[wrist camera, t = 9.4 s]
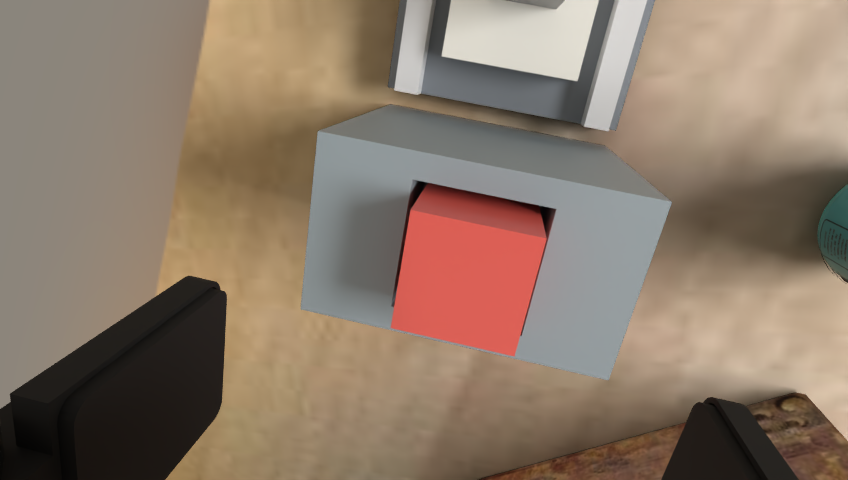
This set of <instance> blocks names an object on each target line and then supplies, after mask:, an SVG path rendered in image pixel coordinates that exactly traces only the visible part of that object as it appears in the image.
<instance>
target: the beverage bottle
mask: <svg viewBox="0 0 848 480" xmlns="http://www.w3.org/2000/svg"><path fill="white" fill-rule="evenodd" d="M817 236H818V244H819V248H820V251H821V255H823V256H822V257H824V258H823V260H824V259H825V260H826V262H827V263H828V265H829V266H830V267H831V269H832V270H834V271H833V272H834V273H835V272H836V273H837V274H838V275H840V276H841V278H842V279H843V280H844V281H845V282H847V283H848V184H847V185H846V186H844V187H843V188H842V189H841V190H840V191H839V192H838V193H837V194H836V195H835V196H834V197H833V198H832V199H831V200H830V202H829V203H828V205H827V206H826V207H825V209H824V211H823V213H822V216H821V218H820V221H819V226H818V234H817ZM824 262H825V261H824ZM825 264H826V263H825ZM826 266H827V265H826ZM827 267H828V266H827ZM828 269H829V268H828ZM829 270H830V269H829ZM836 273H835V274H836ZM832 274H833V273H832ZM837 274H836V275H837ZM838 275H837V276H838ZM838 278H839V277H838ZM839 279H840V278H839ZM844 281H843V282H844ZM845 282H844V283H845ZM847 283H846V284H847Z"/></svg>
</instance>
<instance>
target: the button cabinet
mask: <svg viewBox="0 0 848 480" xmlns="http://www.w3.org/2000/svg"><path fill="white" fill-rule="evenodd" d="M428 183H432V184H437V185H442V186H447V187H452V188H457V189H462V190H466V191H471V192H476V193H481V194H486V195H491V196H496V197H501V198H505V199H510V200H515V201H520V202H525V203H530V204H535V205H539V208H540V212H541V216H542V220H543V225H544V229H545V233H546V237H547V240H546V243H545V247H544V251H543V254H542V258H541V262H540V265H539V269H538V272H537V276H536V280H535V283H534V287H533V291H532V294H531V298H530V302H529V305H528V309H527V313H526V316H525V320H524V324H523V327H522V331H521V335H520V338H519V342H518V346H517V349H516V353H515V357H514V356H510V355H505V354H501V353H497V352H492V351H488V350H484V349H479V348H475V347H471V346H466V345H462V344H458V343H453V342H449V341H445V340H440V339H436V338H432V337H427V336H423V335H419V334H414V333H410V332H406V331H401V330H397V329H392V328H391V323H392V317H393V311H394V305H395V299H396V293H397V287H398V281H399V275H400V269H401V263H402V257H403V252H404V246H405V240H406V234H407V228H408V222H409V216H410V210H411V208H412V207H413V205H414V204H415V202H416V201H417V199H418V198H419V196H420V194H421V193H422V191H423V190H424V188H425V187H426V185H427V184H428ZM671 204H672V201H670V200H669V199H668V198H667V197H666V196H664V195H663V194H662V193H661V192H660V191H658V190H657V189H656V188H655V187H654V186H653V185H651V184H650V183H649V182H648V181H647V180H645V179H644V178H643V177H642V176H641V175H639V174H638V173H637V172H636V171H635V170H633V169H632V168H631V167H630V166H629V165H627V164H626V163H625V162H624V161H623V160H621V159H620V158H619V157H618V156H617V155H615V154H614V153H613V152H612V151H611V150H609V149H608V148H607V147H606V146H605V145H599V144H594V143H589V142H584V141H579V140H574V139H568V138H563V137H558V136H553V135H548V134H543V133H537V132H532V131H527V130H522V129H517V128H511V127H506V126H501V125H496V124H491V123H486V122H480V121H475V120H470V119H465V118H460V117H455V116H449V115H444V114H439V113H434V112H429V111H424V110H418V109H413V108H408V107H403V106H398V105H392V104H390V105H387V106H385V107H382V108H379V109H376V110H374V111H371V112H368V113H366V114H363V115H360V116H357V117H355V118H352V119H349V120H346V121H344V122H341V123H338V124H336V125H333V126H330V127H327V128H325V129H322V130H319V131H318V134H317V144H316V155H315V165H314V175H313V186H312V196H311V206H310V217H309V227H308V238H307V248H306V258H305V269H304V279H303V290H302V300H301V309H302V310H306V311H310V312H315V313H319V314H323V315H328V316H332V317H336V318H341V319H345V320H349V321H354V322H358V323H362V324H367V325H371V326H375V327H380V328H384V329H388V330H393V331H397V332H401V333H406V334H410V335H414V336H419V337H423V338H427V339H432V340H436V341H440V342H445V343H449V344H453V345H457V346H462V347H466V348H470V349H475V350H479V351H483V352H488V353H492V354H496V355H501V356H505V357H509V358H514V359H518V360H522V361H527V362H531V363H535V364H540V365H544V366H548V367H553V368H557V369H561V370H566V371H570V372H574V373H579V374H583V375H587V376H592V377H596V378H600V379H605V380H609V378H610V375H611V372H612V369H613V366H614V364H615V361H616V358H617V355H618V352H619V350H620V347H621V344H622V341H623V338H624V336H625V333H626V330H627V327H628V324H629V322H630V319H631V316H632V313H633V310H634V308H635V305H636V302H637V299H638V296H639V294H640V291H641V288H642V285H643V282H644V280H645V277H646V274H647V271H648V268H649V265H650V263H651V260H652V257H653V254H654V251H655V249H656V246H657V243H658V240H659V237H660V235H661V232H662V229H663V226H664V223H665V221H666V218H667V215H668V212H669V209H670V207H671Z"/></svg>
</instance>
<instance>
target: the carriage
mask: <svg viewBox="0 0 848 480" xmlns="http://www.w3.org/2000/svg"><path fill="white" fill-rule="evenodd" d="M598 2H599V0H451V4H450V10H449V16H448V21H447V27H446V33H445V39H444V45H443V50H442V57H448V58H453V59H459V60H464V61H470V62H475V63H480V64H486V65H491V66H497V67H502V68H508V69H513V70H518V71H524V72H529V73H535V74H540V75H546V76H551V77H557V78H562V79H567V80H573V81H578V77H579V74H580V70H581V66H582V62H583V58H584V55H585V51H586V47H587V43H588V40H589V36H590V32H591V28H592V25H593V21H594V17H595V13H596V9H597V6H598Z"/></svg>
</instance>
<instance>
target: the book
mask: <svg viewBox="0 0 848 480" xmlns="http://www.w3.org/2000/svg"><path fill="white" fill-rule="evenodd" d="M746 407H747V408H748V409H749V411H750V412H751V413H752V415H753V416H754V418H755V419H756V420H757V422H758V423H759V425H760V426H761V427H762V429H763V430H764V432H765V433H766V434H767V436H768V437H769V439H770V440H771V441H772V443H773V444H774V446H775V447H776V448H777V450H778V451H779V453H780V454H781V455H782V457H783V458H784V460H785V461H786V462H787V464H788V465H789V467H790V468H791V469H792V471H793V472H794V473H795V475H796V476H797V478H798V479H799V480H848V441H847V440H846V439H845V438H844V436H843V435H842V434H841V433H840V432H839V431H838V430H837V429H836V428H835V427H834V425H833V424H832V423H831V422H830V421H829V420H828V419H827V418H826V417H825V415H824V414H823V413H822V412H821V411H820V410H819V409H818V408H817V407H816V406H815V404H814V403H813V402H812V401H811V400H810V399H809V398H808V397H807V396H806V395H805V394H801V393H792V394H788V395H784V396H781V397H777V398H773V399H770V400H766V401H762V402H759V403H755V404H751V405H748V406H746ZM685 424H686V423H682V424H679V425H675V426H671V427H668V428H664V429H661V430H657V431H653V432H650V433H646V434H642V435H639V436H635V437H631V438H628V439H624V440H620V441H617V442H613V443H610V444H606V445H602V446H599V447H595V448H591V449H588V450H584V451H580V452H577V453H573V454H570V455H566V456H562V457H559V458H555V459H551V460H548V461H544V462H540V463H537V464H533V465H530V466H526V467H522V468H519V469H515V470H511V471H508V472H504V473H500V474H497V475H493V476H490V477H486V478H482V479H479V480H661V479H662V477H663V474H664V472H665V470H666V467H667V465H668V463H669V461H670V458H671V456H672V454H673V451H674V449H675V447H676V445H677V442H678V440H679V438H680V435H681V433H682V431H683V429H684V426H685Z"/></svg>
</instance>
